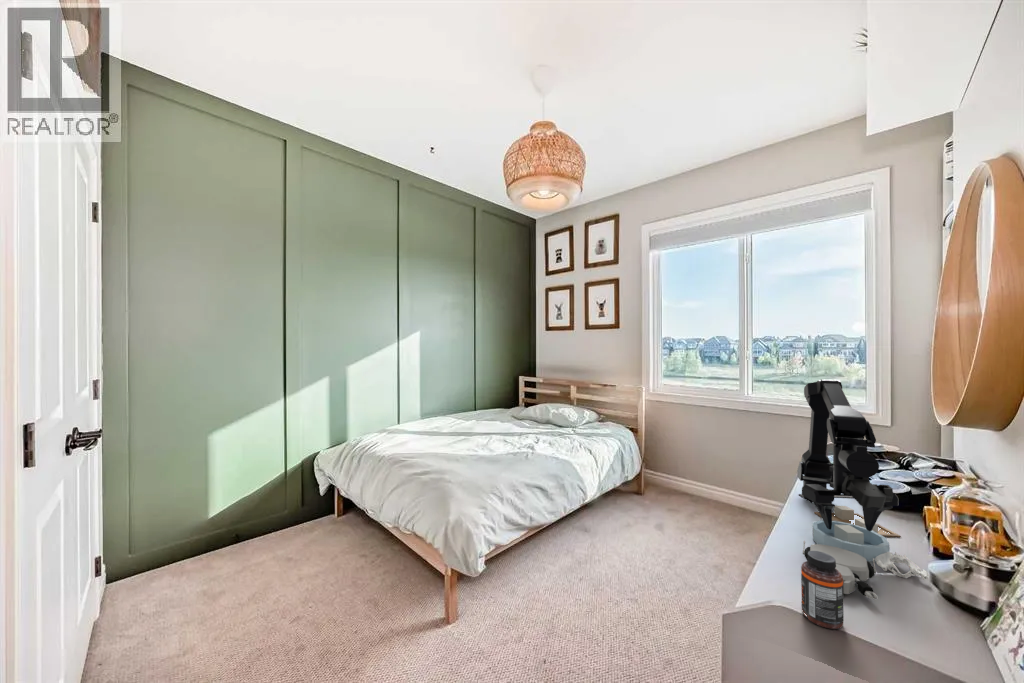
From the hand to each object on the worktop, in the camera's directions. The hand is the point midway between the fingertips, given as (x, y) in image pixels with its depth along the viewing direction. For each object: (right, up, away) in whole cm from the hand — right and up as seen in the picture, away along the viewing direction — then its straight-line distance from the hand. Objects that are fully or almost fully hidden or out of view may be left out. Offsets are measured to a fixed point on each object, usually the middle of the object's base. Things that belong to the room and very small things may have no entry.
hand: (848, 529), depth 96 cm
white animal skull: (+2, -5, -11) cm, 12 cm away
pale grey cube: (+11, -4, +8) cm, 14 cm away
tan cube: (+13, -5, +16) cm, 21 cm away
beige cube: (0, -4, 0) cm, 4 cm away
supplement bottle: (-27, -4, -26) cm, 38 cm away
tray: (+12, -5, +12) cm, 18 cm away
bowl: (0, -4, 0) cm, 4 cm away
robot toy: (-14, -4, -14) cm, 20 cm away
